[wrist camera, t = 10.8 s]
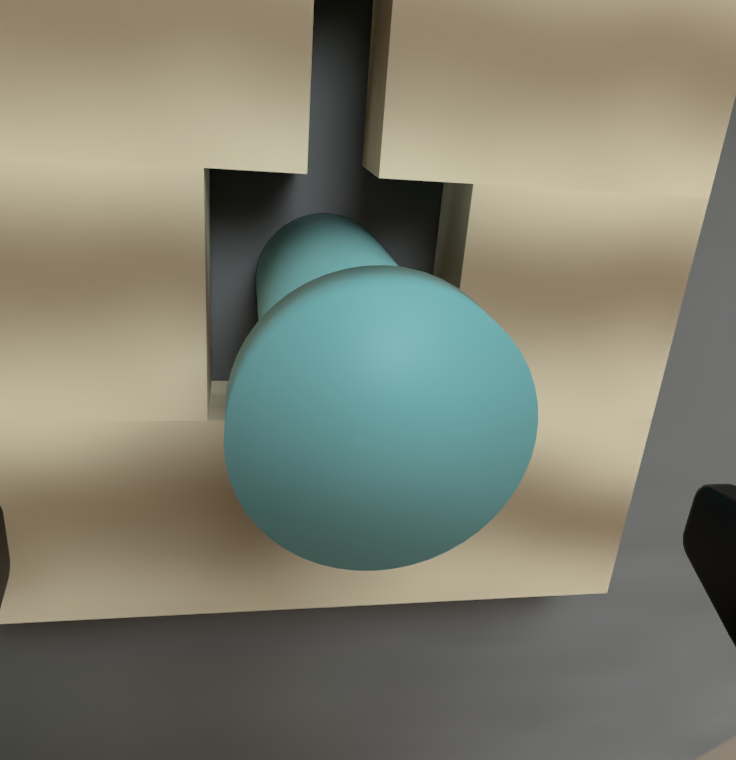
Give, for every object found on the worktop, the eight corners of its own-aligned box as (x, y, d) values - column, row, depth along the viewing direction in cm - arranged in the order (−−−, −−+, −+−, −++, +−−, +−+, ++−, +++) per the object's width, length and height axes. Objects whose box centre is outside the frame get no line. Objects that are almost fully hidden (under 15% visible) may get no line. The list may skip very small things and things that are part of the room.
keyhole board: (572, 544, 24) (607, 593, 22) (6, 565, 21) (-22, 625, 18) (712, -70, 17) (784, -94, 15) (-107, -181, 14) (-176, -232, 11)
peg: (401, 364, 20) (512, 564, 12) (232, 362, 19) (224, 577, 11) (418, 194, 18) (563, 291, 10) (232, 184, 17) (222, 281, 9)
